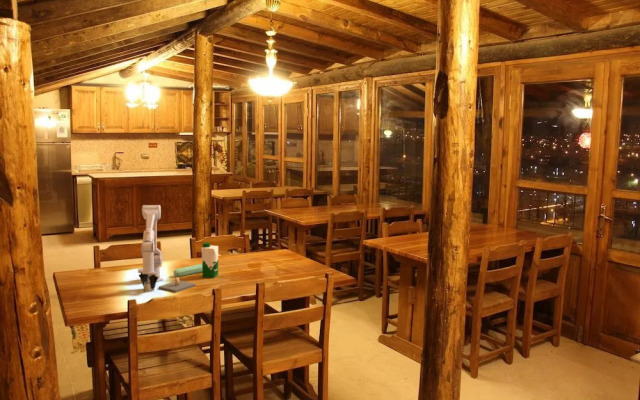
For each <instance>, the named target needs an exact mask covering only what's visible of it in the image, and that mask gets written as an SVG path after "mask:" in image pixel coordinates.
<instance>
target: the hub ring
mask: <svg viewBox="0 0 640 400" xmlns="http://www.w3.org/2000/svg"><path fill="white" fill-rule="evenodd" d="M143 291H144V292H153V291H155V288H153V289H151V285H150V281H149V282H144V287H143Z"/></svg>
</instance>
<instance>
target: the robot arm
mask: <svg viewBox="0 0 640 400" xmlns="http://www.w3.org/2000/svg"><path fill="white" fill-rule="evenodd" d="M161 208H162V207H161V205H160V204H156V205H154V204H152V205H150V204H148V205H147V204H143V205H142V206H141V214H142V215H141V216H143V219H144V220H145V230H144V231H143V237H142V242H141V243H140V248H141V255H142V268H140V269H138V270H137V273H138V277H139V279H140V280H141V283H142V286H143V288H144V282H149V281H150V285H151V289H153V288H154V289H155V288H156V284H157V282H161V281H163V280H164V278H162V277H161V274H160V273H161V271H160V268H161V267H160V265H162V263H163V255H162V254H163V253H162V251H161V249H159V248H158V247H157V246H158V241H157V237H158V236H157V235H158V232H157V231H158V230H157V229H158V228H157V225H158V224H157V223H158V220H161V217H162V216H161V215H162V213H161V212H162V209H161Z"/></svg>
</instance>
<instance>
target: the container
mask: <svg viewBox="0 0 640 400" xmlns="http://www.w3.org/2000/svg"><path fill="white" fill-rule="evenodd" d="M199 273H202V263H199V264H194V265H190V266H185V267H180V268H176V269H174V270H173V276H174V278H181V277H185V276H188V275H195V274H199Z"/></svg>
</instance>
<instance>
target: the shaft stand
mask: <svg viewBox="0 0 640 400" xmlns="http://www.w3.org/2000/svg"><path fill="white" fill-rule="evenodd" d="M193 287H196V283H194V282H189V281H185V280H181V279H180V277H174V281H171V282H169V283H165V284H163V285H158V290H162V291H163V290H164V291H166V292H167V291H168V292H171V293H178V292H181V291H185V290H187V289H190V288H193Z"/></svg>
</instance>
